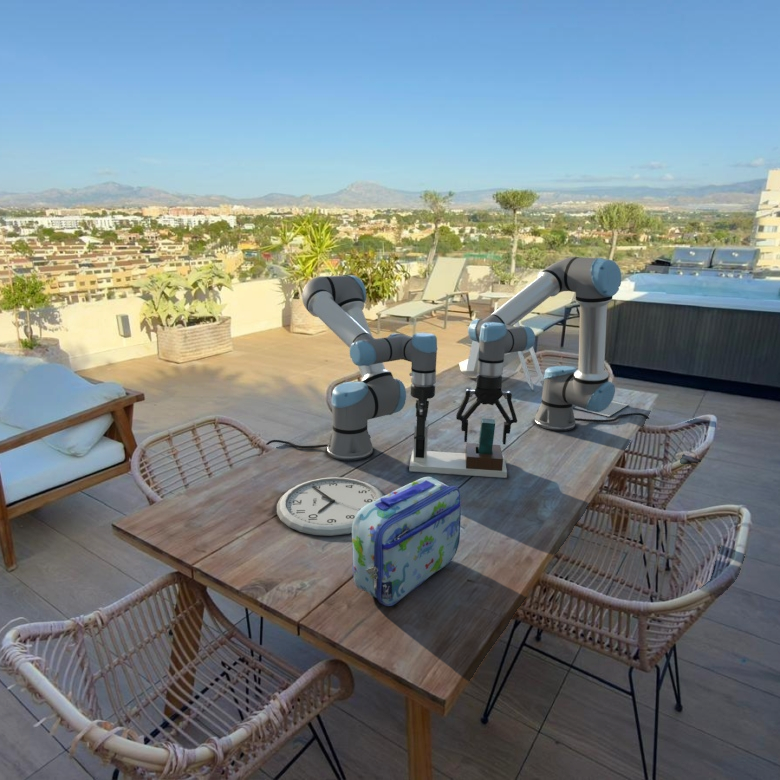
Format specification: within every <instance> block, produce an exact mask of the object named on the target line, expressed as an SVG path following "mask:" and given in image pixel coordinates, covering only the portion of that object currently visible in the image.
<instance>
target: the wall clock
mask: <svg viewBox="0 0 780 780" xmlns="http://www.w3.org/2000/svg"><path fill="white" fill-rule="evenodd" d="M383 496H385V494H384V493H383V492H382V491H381V490H380V489H379V488H377V487H376V486H374V485H372V484H371V483H369V482H365V481H362V480H359V479H355V478H349V477H338V476H337V477H335V476H333V477H332V476H331V477H322V478H317V479H312V480H307V481H305V482H302V483H299V484H297V485H295V486H293V487H292V488H290V489H288V490H287V491H286V492H285V493H284V494H283V495H281V496H280V498H279V499H278V502H277V503H276V515H277V517H278V518H279V520H280V521H281V522H282V523H283V524H285V525H286V526H287V527H288V528H290V529H293V530H295V531H297V532H299V533H303V534H308V535H312V536H327V537H328V536H329V537H331V536H332V537H333V536H342V535H350V534H352V526H353V521H354V518H355V516H356V515H357V513H358V512H359V510H360V509H361V508H362V507H364V506H365V505H367V504H369V503H371V502H373V501H375V500H377V499H379V498H381V497H383Z"/></svg>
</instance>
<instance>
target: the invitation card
mask: <svg viewBox="0 0 780 780" xmlns="http://www.w3.org/2000/svg"><path fill="white" fill-rule="evenodd" d="M628 406H629V404H627V403H623V402H618V401H614V400H612V401H611V403H610V405H609V406H608V407H607V408H606V409H605V410H603V411H601V412H594V411H588V410H587V409H584V408H581V407H578V406H574V407H573V409H575V410H581V411H584V412H587V413H593V414H596V415H600V416H604V417H608V418H609V417H611V416H613V415H614V414H616V413H617V412H619V411H621V410H623V409H624V408H626V407H628Z"/></svg>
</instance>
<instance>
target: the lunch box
mask: <svg viewBox="0 0 780 780" xmlns="http://www.w3.org/2000/svg"><path fill="white" fill-rule="evenodd" d="M461 499H462V497H461V491H460V489H459V488H458V487H457V486H455V485H450V486H449V485H447V484H445V483H444V482H442V481H440V480H438V479H436V478H434V477H432V476H424V477H421V478H419V479H416V480H414V481H412V482H410V483H407V484H405V485H404V486H401V487H399V488H397V489H395V490H392V491H391V492H390V493H386V494H384V496H383V497H381V498H379V499H377V500H375V501H373V502H371V503H369V504H367V505H365V506H364V507H362V508H361V509H360V510H359V512H358V513H357V515H356V516H355V518H354V521H353V526H352V533H351V550H352V576H353V581H354V584H355V587H356V588H358V589H360V590H362V591H364V592H366V593H368V594H370V596H372V597H374V598H375V599H377V601H378V603H379V604H382V605H383V606H385V607H393V606H394V605H396V604H397V603H399V602H400V601H402V599H404V598H405V597H406V596H407V595H409V594H410V593H411V592H413V591H414V590H415V589H416V588H418V587H419V586H420V585H422V584H423V583H424V582H425V581H427V580H428V579H429V578H430V577H432V575H434V574H435V573H437V572H439V571H441V570H442V569H443V568H445V567H446V566H448V565H449V564H450V562H452V560H453V559H454V557H455V555H456V553H457V551H458V549H459V544H460V537H461V519H462V515H461V513H462V512H461V510H462V507H461V505H462V504H461V503H462V502H461Z"/></svg>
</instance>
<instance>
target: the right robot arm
mask: <svg viewBox="0 0 780 780" xmlns="http://www.w3.org/2000/svg"><path fill="white" fill-rule="evenodd" d="M621 284H622V272H621V268H620V266H619V265H618V264H617V262H616V261H614V260H612V259H607V258H603V257H584V256H583V257H581V256H569V257H566V258H563V259H561V260H558V261H556V262H554V263H552V264H550V265H549V266H547V267H546V268H545V269H543V270H541V271H540V272H539V273H538V274H537V276H536V279H534V281H532V282H531V283H529V284H528V285H526V286H525V287H524V288H523V289H522V290H520V291H518V292H517V294H515V295H514V296H512V297H511V298H510V299H509V300H508V301H506V302H505V303H504V304H502V305H501V306H500V307H499V308H498V309H496V310H495V311H494V312H492V313H491V314H490V315H488V316H487V317H485V318H484V319H483V318H476V319H474V320H472V321H471V322H470V323H469V326H468V328H467V333H468V337H469V338H470V340H471V341H476V342H478V343H479V358H478V371H477V372H478V373H479V374H478V375H477V376H476V387H475V389H469V388H466V389H465V394H464V397H463V400H462V401H461V404H460V406H459V409H458V411H457V413H456V415H455V418H456V420H458V421H460V422H461V428H460V430H461V432H464V435H463V436H464V438H463V441H464V443H468V432H469V431H468V430H469V418H470V417H471V416H472V414H473V413H474V412H475V411H476V410H477V408H478V407H479V406H480V405H490V406H494V405H495V406H496V408H497V409H498V411H499V412H500V414H501V416H502V418H503V419H504V420H505V421H503V428H502V429H503V430H502V445H506V443H507V435H510V434H511V429H512V424H517V423H518V418H517V414H516V411H515V408H514V404H513V401H512V397H513V395H512V391H511V390H507V391H503V389H502V385H503V376H502V375H503V373H504V368H503V364H504V354H505V353H512V352H518V351H524V350H528V349H530V348H531V347H532V346H533V347H534V345H535V343H536V334H535V331H534V329H532V328H531V327H530V326H528V325H520V326H519V327H516V326H515V324H516V323H517V322H518V321H519V322H520V321H522V319H523V318H525V317H526V316H527V315H529V314H530V313H531V312H533V311H534V310H535V309H536V308H538V307H539V306H540V305H542V304H543V303H544V302H545V301H546V300H548V299H549V298H551V297H556V296H557V295H558V294H560V293H562V292H571V293H572V292H574V293H575V301H576V302H577V304H579V333H578V336H579V337H578V365H577V366H578V368H577V367H575V366H571V365H570V366H569V365H557V366H556V365H555V366H550V367H547V368H546V369H545V371H544V375H543V379H544V381H543V386H542V393H541V402H540V405H539V407H538V409H537V411H536V413H535V417H534V424H535V425H536V426H537V427H539V428H542V429H544V430H549V431H556V432H567V431H572V430H574V429H575V428H576V421H577V422H588V423H610V422H611V423H613V422H615V421H617V420H618V419H620V418H624V417H631V416H640V417H644V418H645V419H647V420H650V417H649V416H648V415H646V414H645V413H641V412H630V413H621V414H618V415H617V416H616V417H615V418H609V419H593V418H592V419H589V418H578V417H576V416H575V413H574V407H576V406H578V407H581V408H584V409H587V410H588V411H594V412H601V411H603V410H605V409H606V408H607V407H608V406H609V405H610V403H611V401H614V397H615V394H616V386H615V385H614V383H613V382H611V381H609V372H608V371H606V370H605V359H606V355H605V354H606V341H607V339H606V338H607V337H606V336H607V318H608V317H607V315H608V304H609V303H610V302H611V301H613V296H616V294H617V293H618V291H619V290H620V287H621ZM473 395H475V397H476V399H475V400H474V402H473V403H472V404H471V405H470V406H469V407H468V409H467V410H466V407H467V405H468V403H469V400H470V398H472V397H473ZM502 397H504V399H505V400H506V403H507V404H508V408H509V412H510V414H511V415H510V416H511V417H510V416H509V415H508V413H507V411H506V409H505V408H504V406H503V405H502V403H501V401H500V399H501V398H502ZM573 406H574V407H573ZM465 410H466V411H465ZM464 411H465V412H464ZM588 411H587V412H588ZM463 413H464V414H463Z"/></svg>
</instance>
